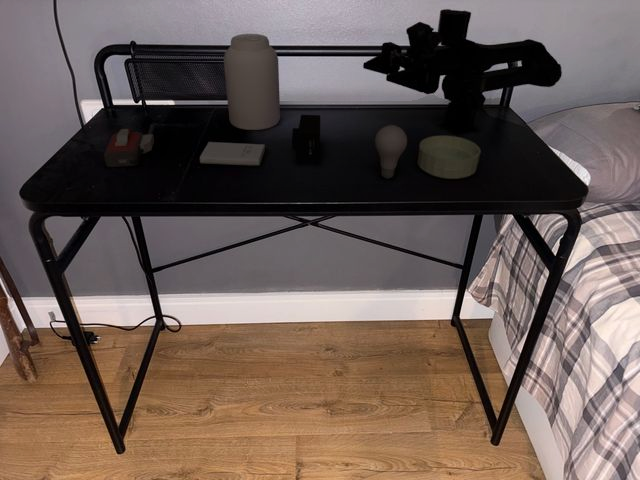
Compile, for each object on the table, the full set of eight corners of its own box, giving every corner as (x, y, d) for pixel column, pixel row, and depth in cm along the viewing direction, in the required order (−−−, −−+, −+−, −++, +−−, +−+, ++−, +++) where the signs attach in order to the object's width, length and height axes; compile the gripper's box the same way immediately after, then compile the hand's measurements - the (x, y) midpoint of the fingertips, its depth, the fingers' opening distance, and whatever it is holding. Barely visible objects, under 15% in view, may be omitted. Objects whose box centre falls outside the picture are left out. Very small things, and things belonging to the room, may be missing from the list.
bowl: (451, 150, 112) (454, 131, 109) (488, 173, 103) (493, 153, 101) (405, 160, 108) (408, 141, 105) (440, 185, 99) (444, 165, 96)
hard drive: (209, 148, 112) (265, 150, 111) (200, 164, 105) (259, 166, 104) (208, 141, 111) (264, 143, 110) (199, 157, 104) (258, 159, 103)
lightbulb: (382, 188, 98) (388, 135, 91) (366, 174, 102) (370, 123, 96) (408, 181, 100) (415, 129, 94) (391, 168, 104) (396, 118, 98)
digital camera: (296, 143, 114) (295, 113, 110) (320, 144, 114) (320, 114, 110) (292, 163, 106) (291, 132, 102) (318, 164, 105) (318, 133, 101)
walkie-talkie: (148, 168, 103) (158, 130, 119) (144, 148, 101) (155, 112, 117) (103, 170, 102) (120, 131, 118) (98, 150, 99) (115, 113, 115)
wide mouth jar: (290, 119, 126) (288, 35, 115) (259, 135, 117) (254, 46, 106) (251, 108, 131) (245, 27, 120) (218, 124, 123) (209, 38, 111)
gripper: (415, 15, 112) (354, 21, 106) (470, 33, 98) (404, 41, 93) (410, 65, 118) (352, 74, 113) (461, 89, 105) (398, 100, 99)
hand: (374, 71), depth 104 cm, fingers open, 9 cm apart
